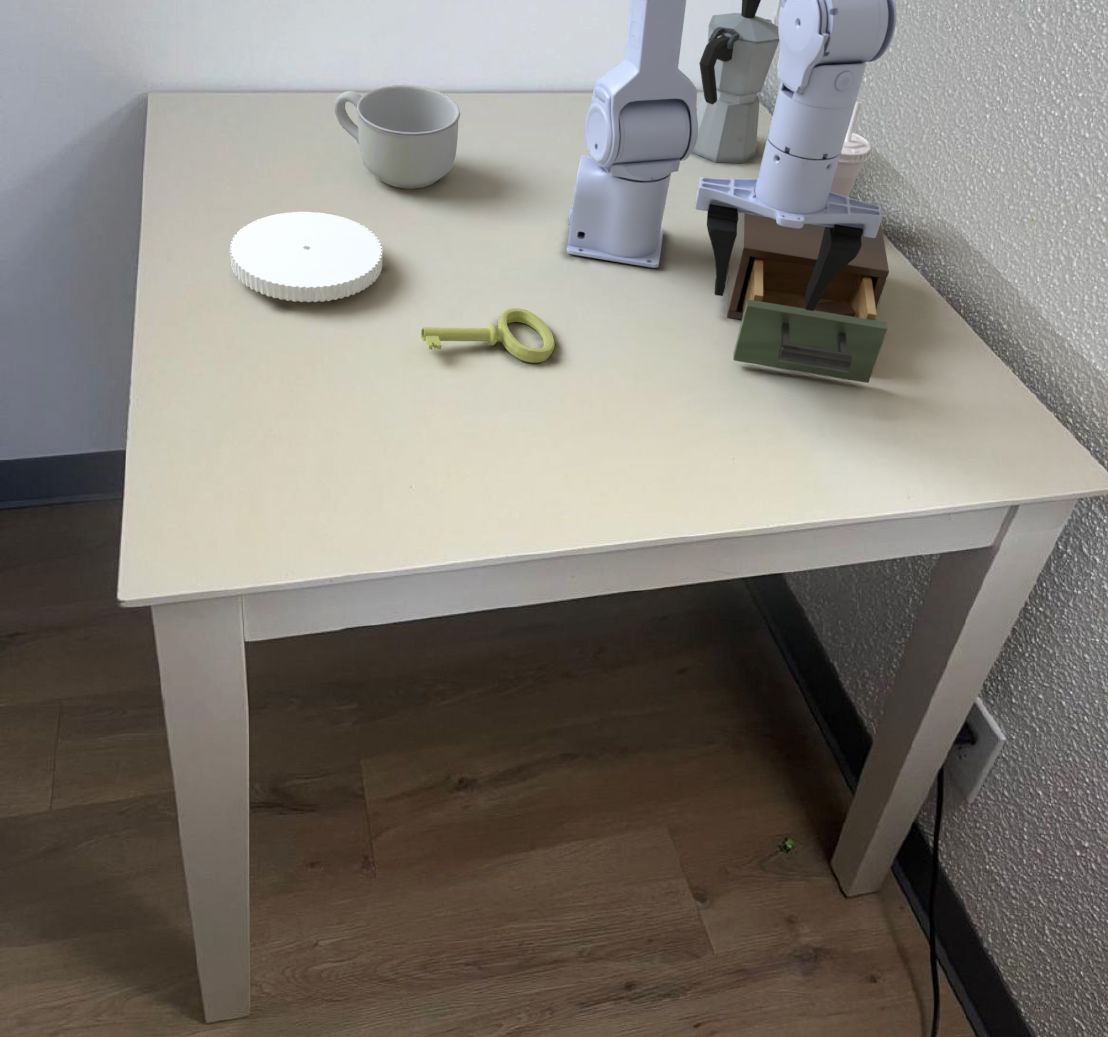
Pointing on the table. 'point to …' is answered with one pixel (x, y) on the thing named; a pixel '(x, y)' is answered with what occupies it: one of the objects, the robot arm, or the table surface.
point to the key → (498, 335)
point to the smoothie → (850, 158)
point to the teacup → (403, 133)
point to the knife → (836, 308)
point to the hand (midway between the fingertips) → (764, 297)
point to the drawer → (808, 323)
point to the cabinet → (794, 254)
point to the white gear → (306, 256)
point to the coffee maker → (733, 83)
